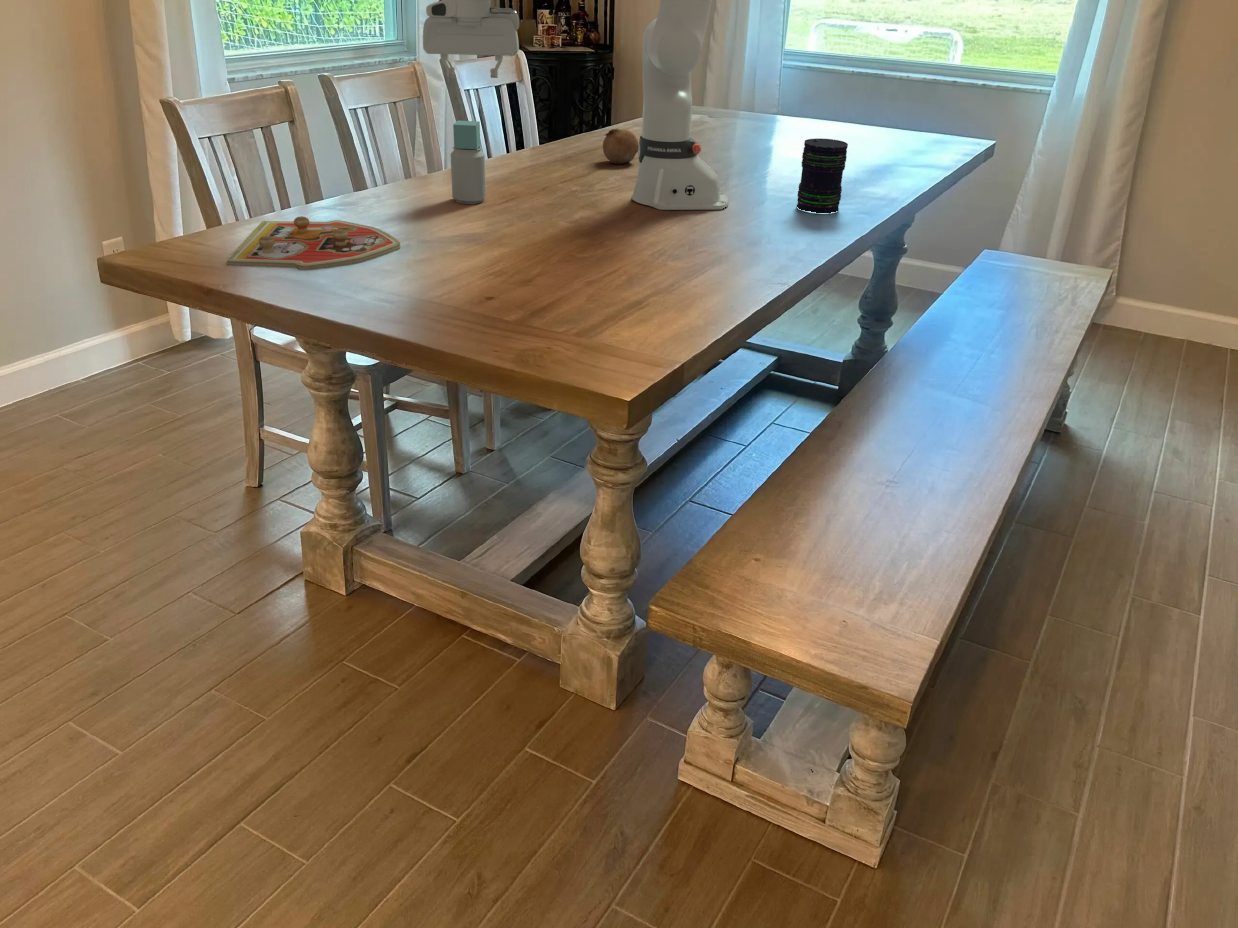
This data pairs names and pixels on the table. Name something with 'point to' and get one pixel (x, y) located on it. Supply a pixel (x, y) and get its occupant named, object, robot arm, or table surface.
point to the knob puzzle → (312, 244)
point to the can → (468, 175)
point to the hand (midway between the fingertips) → (472, 77)
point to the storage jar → (822, 175)
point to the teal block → (466, 134)
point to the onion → (620, 146)
